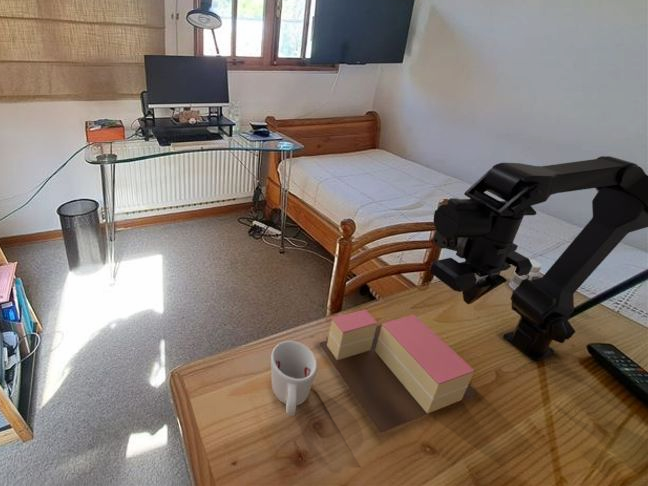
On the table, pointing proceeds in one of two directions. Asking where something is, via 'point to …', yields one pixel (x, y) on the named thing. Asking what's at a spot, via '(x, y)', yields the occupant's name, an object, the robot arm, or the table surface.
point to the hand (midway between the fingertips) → (467, 302)
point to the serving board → (379, 388)
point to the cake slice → (351, 334)
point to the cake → (423, 363)
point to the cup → (292, 373)
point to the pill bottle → (532, 274)
